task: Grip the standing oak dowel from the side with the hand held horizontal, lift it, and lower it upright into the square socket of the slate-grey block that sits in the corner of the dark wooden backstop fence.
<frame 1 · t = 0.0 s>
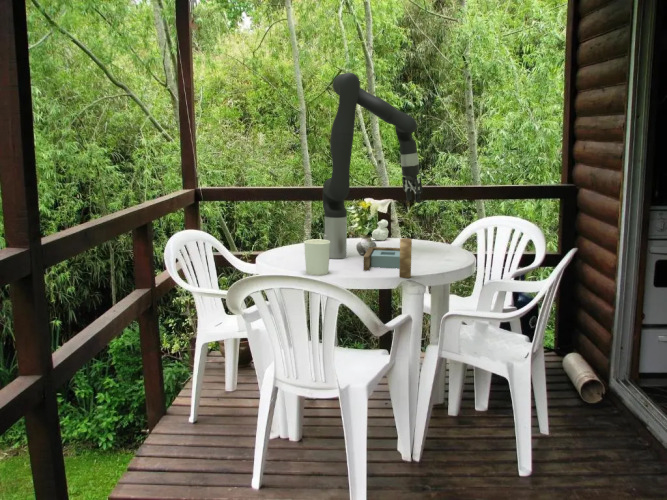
hand: (413, 201, 285), 22 cm above the table, tool pointing down, fingers open, 8 cm apart
backstop fence: (387, 264, 262), on the table
candle holder: (317, 273, 247), on the table
duck figurine: (380, 240, 318), on the table
oak dowel: (405, 276, 241), on the table
socket block: (387, 265, 262), on the table
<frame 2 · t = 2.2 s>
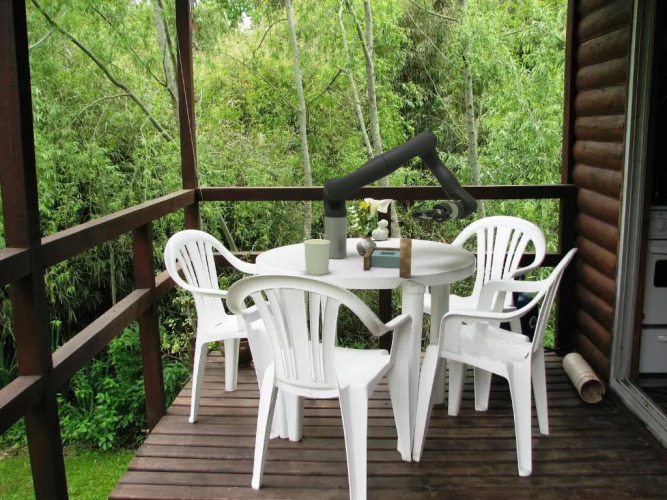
hand: (422, 216, 246), 21 cm above the table, tool horizontal, fingers open, 8 cm apart
nothing on the table moved.
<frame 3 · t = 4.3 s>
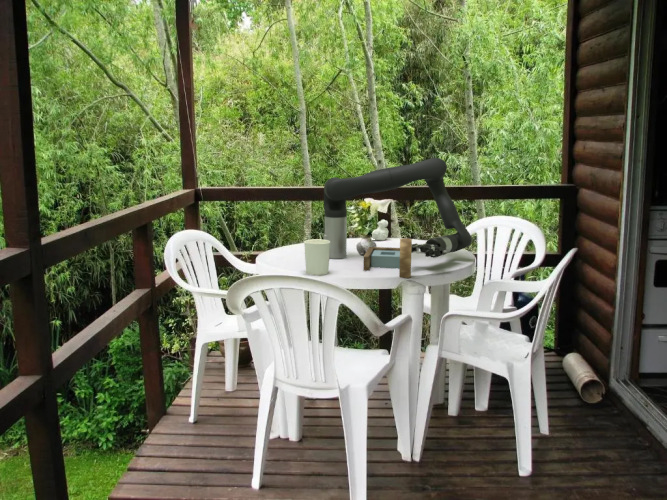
hand: (416, 252, 245), 8 cm above the table, tool horizontal, fingers open, 8 cm apart
nothing on the table moved.
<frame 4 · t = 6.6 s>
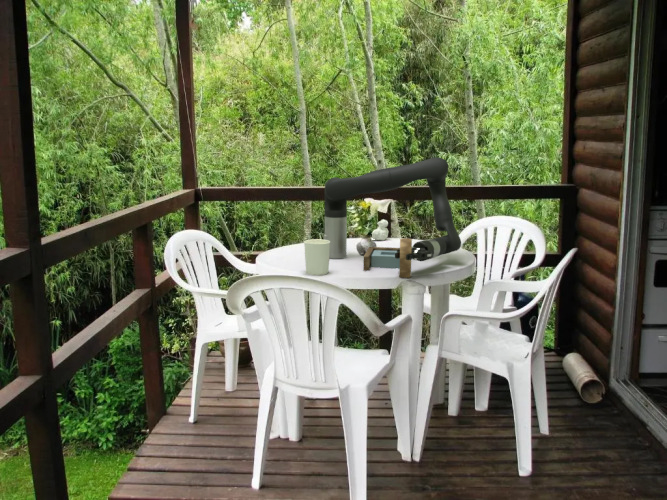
hand: (401, 256, 238), 8 cm above the table, tool horizontal, fingers closed on oak dowel, 4 cm apart
oak dowel: (405, 276, 241), on the table, touching gripper
everything else where it was.
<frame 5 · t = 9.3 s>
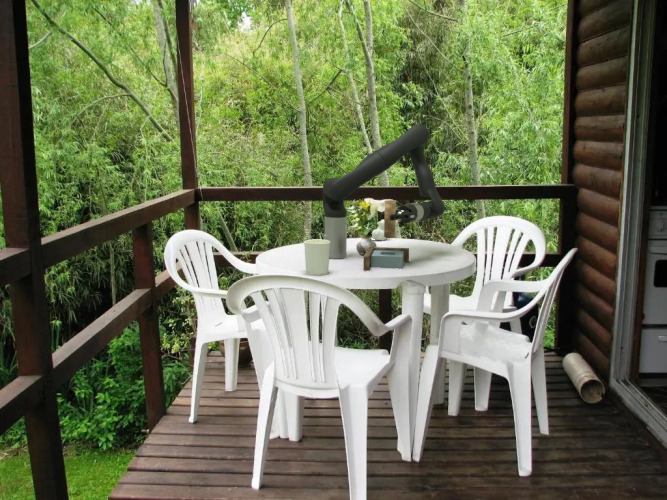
hand: (385, 217, 253), 20 cm above the table, tool horizontal, fingers closed on oak dowel, 4 cm apart
oak dowel: (389, 236, 257), point 12 cm above the table, touching gripper
everything else where it was.
when the fingers open (11 cm above the table, at t = 12.1 s): oak dowel drops 2 cm, resting on socket block.
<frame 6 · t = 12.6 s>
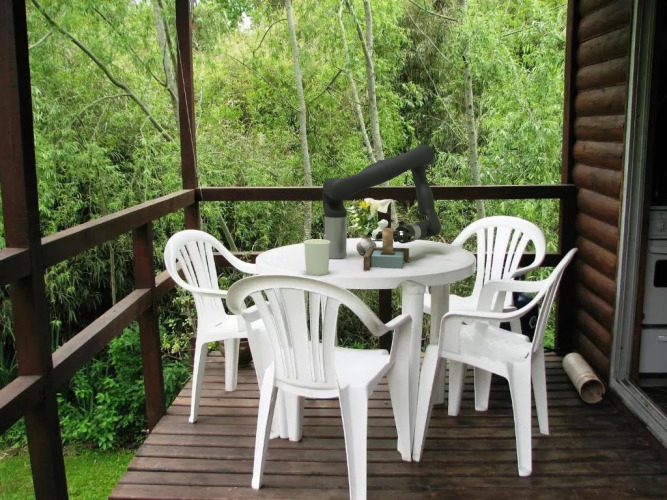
hand: (385, 238, 258), 11 cm above the table, tool horizontal, fingers open, 8 cm apart
oak dowel: (387, 263, 262), point 1 cm above the table, touching socket block
socket block: (387, 265, 262), on the table, touching oak dowel
everything else where it was.
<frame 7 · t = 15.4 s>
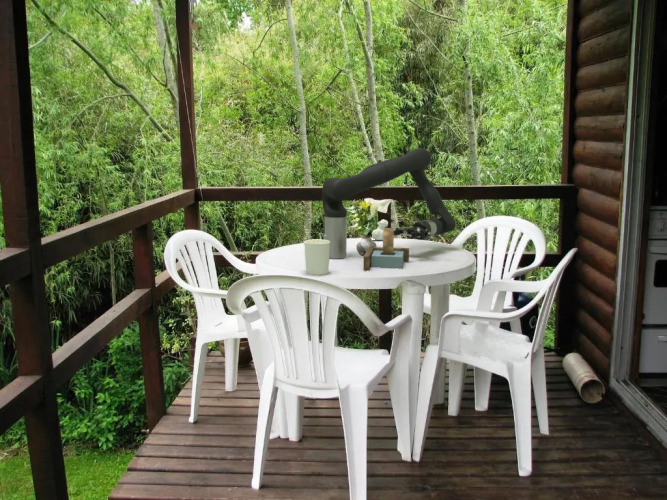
hand: (403, 234, 268), 11 cm above the table, tool horizontal, fingers open, 8 cm apart
nothing on the table moved.
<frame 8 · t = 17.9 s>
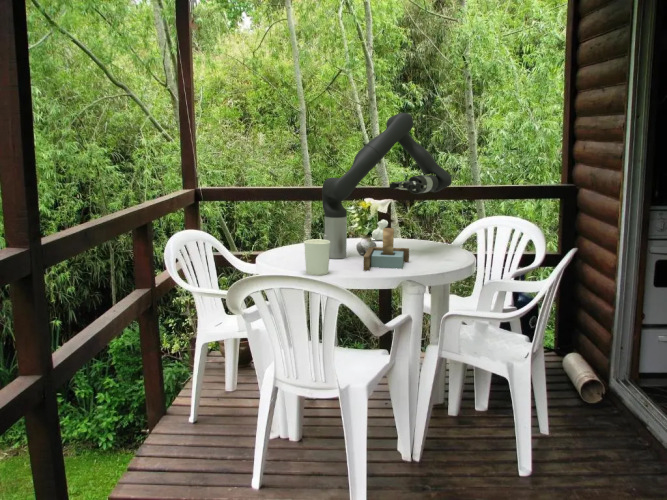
hand: (399, 186, 268), 30 cm above the table, tool horizontal, fingers open, 8 cm apart
nothing on the table moved.
at the end: oak dowel 0.1 cm off-centre on the socket block, point 1.0 cm above the socket block's base; oak dowel tilted 1°; socket block moved 0.5 cm from its start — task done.
